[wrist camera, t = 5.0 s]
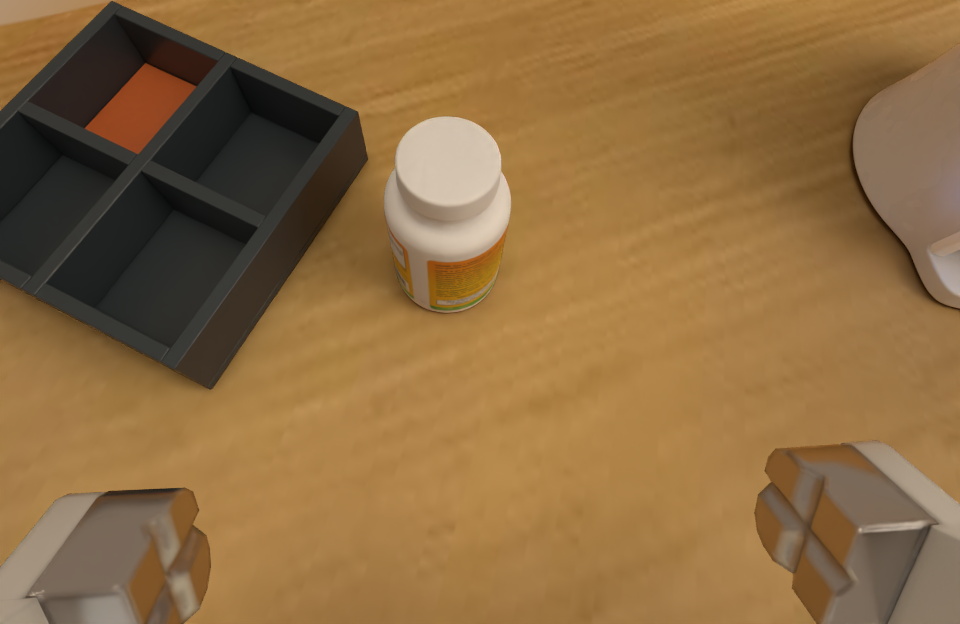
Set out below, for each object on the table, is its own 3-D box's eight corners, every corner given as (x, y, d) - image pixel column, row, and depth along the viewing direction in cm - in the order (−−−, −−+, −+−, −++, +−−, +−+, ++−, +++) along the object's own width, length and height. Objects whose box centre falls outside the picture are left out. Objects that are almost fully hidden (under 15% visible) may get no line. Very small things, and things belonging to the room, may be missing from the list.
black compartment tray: (368, 158, 32) (358, 111, 28) (211, 390, 27) (174, 369, 23) (148, 57, 33) (111, 0, 30) (-39, 259, 28) (-112, 220, 25)
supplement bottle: (515, 250, 31) (545, 137, 21) (467, 333, 29) (478, 247, 20) (428, 207, 31) (422, 78, 22) (376, 285, 29) (346, 180, 20)
